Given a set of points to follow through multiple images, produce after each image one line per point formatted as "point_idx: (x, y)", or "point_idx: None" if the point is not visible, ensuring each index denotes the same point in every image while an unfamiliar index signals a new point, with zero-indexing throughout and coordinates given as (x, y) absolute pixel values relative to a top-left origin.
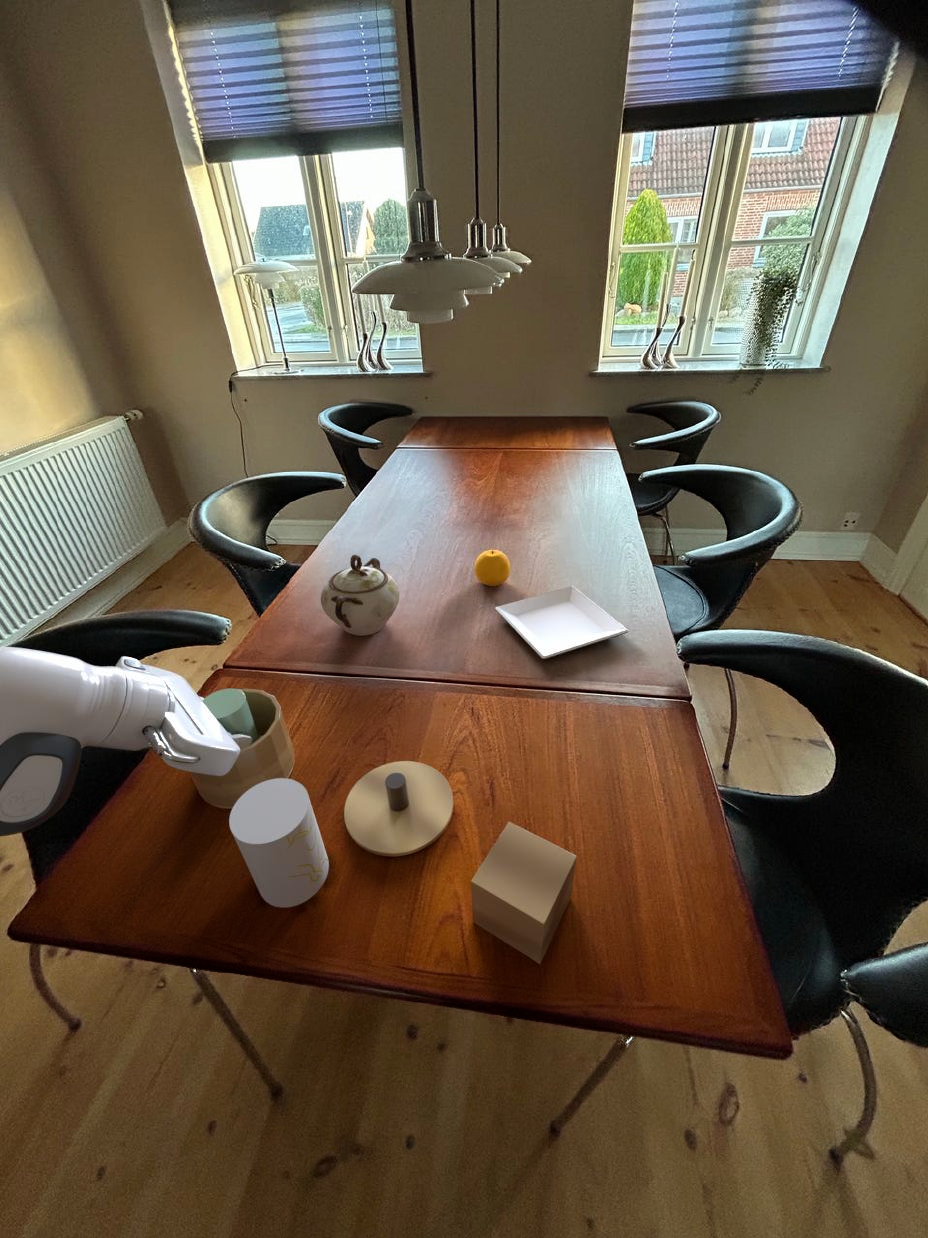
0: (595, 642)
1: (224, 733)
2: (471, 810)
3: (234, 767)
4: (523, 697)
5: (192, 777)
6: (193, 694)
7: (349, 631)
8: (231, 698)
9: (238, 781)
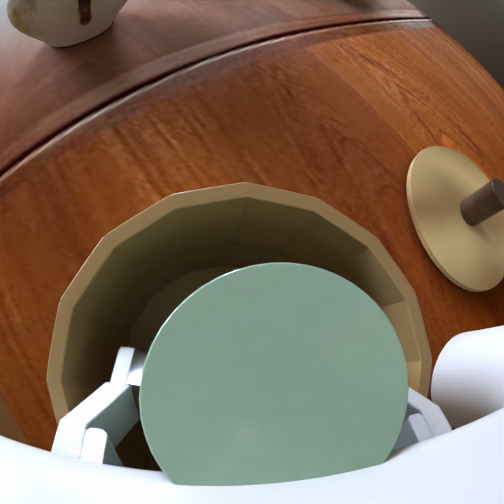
0: None
1: (495, 435)
2: (483, 171)
3: None
4: (375, 32)
5: None
6: (95, 496)
7: (76, 38)
8: (288, 342)
9: None
